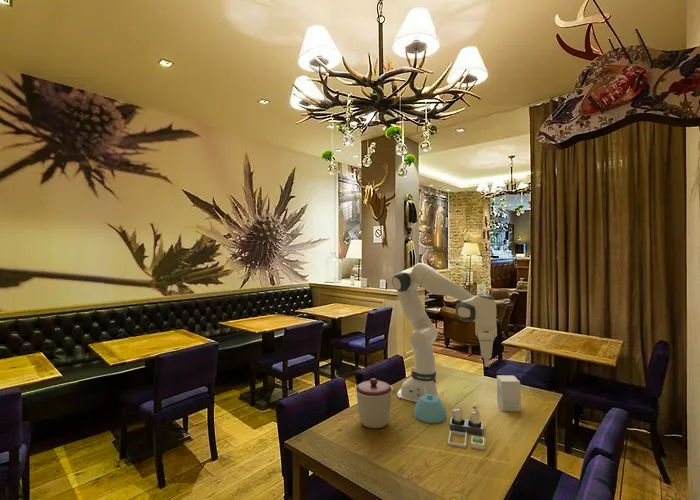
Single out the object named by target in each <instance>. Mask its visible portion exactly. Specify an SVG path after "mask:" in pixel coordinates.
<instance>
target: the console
mask: <svg viewBox="0 0 700 500" xmlns="http://www.w3.org/2000/svg"><path fill="white" fill-rule="evenodd" d="M473 437H475V435H471V437H470V438H471V439H470V442H471V443H470V447H471V448H472V449H477V450H485V437H484V436H480V437H481V438H482V443H476V442H473Z"/></svg>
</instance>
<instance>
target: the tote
mask: <svg viewBox="0 0 700 500" xmlns="http://www.w3.org/2000/svg"><path fill="white" fill-rule="evenodd" d="M448 435H449V436H448V440H447V446H452V447H458V448H463V449H466V448H467V437H468V433H463V432H457V431H451V430H450V429H449V434H448ZM452 435H458V436H465V437H464V443H458V442H451V438H452V437H451V436H452Z"/></svg>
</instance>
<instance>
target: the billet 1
mask: <svg viewBox="0 0 700 500" xmlns="http://www.w3.org/2000/svg"><path fill="white" fill-rule="evenodd" d="M452 409H453V410H452V412H453V414H452V415H453V416H452V417H453V420H454V424H457V425H463V419H464V418H463V415H464V414H463V413H464V412H463V411H464V410H463V409H462V408H461V407H457V406H456V407H453V408H452Z"/></svg>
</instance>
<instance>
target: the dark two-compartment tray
mask: <svg viewBox="0 0 700 500" xmlns="http://www.w3.org/2000/svg"><path fill="white" fill-rule="evenodd" d="M450 430H451V431H457V432H463V433H467V434H468V435H469V434H470V435H474V436H475V435H476V436H481V437H484V422H483V421H481V420H480V428H477V427H470V419H466V418H463V425H457V424H454V420H453V416H452V417H450V421H449V431H450Z"/></svg>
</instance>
